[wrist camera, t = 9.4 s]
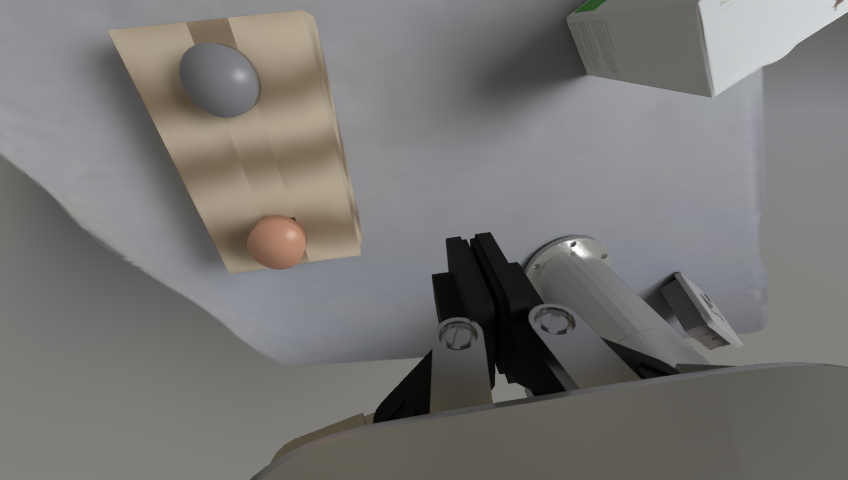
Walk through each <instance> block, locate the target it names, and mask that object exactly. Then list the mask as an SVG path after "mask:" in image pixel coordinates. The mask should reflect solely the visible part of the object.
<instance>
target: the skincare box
mask: <svg viewBox="0 0 848 480" xmlns="http://www.w3.org/2000/svg"><path fill="white" fill-rule="evenodd" d="M847 12H848V0H587V1H586V2H585V3H584V4H582V5H581V6H580V7H578V8H577V9H576V10H575V11H573V12H572V13H571V14H569V15H568V16H567V17H566V21H567V24H568V26H569V29H570V31H571V34H572V37H573V39H574V42H575V44H576V47H577V49H578V52H579V54H580V57H581V59H582V62H583V65H584V67H585V70H586V73H587V75H591V76H597V77H602V78H607V79H613V80H619V81H624V82H630V83H635V84H641V85H646V86H651V87H657V88H662V89H668V90H673V91H679V92H684V93H689V94H695V95H700V96H705V97H711V98H713V97H715V96H716V95H718V94H719V93H721V92H722V91H724V90H726V89H727V88H729V87H730V86H732V85H734V84H735V83H737V82H738V81H740V80H742V79H743V78H745V77H746V76H748V75H750V74H751V73H753V72H754V71H756V70H758V69H759V68H761V67H762V66H764V65H768V64H771V63H773V62H776V61H777V60H779V59H781V58H782V57H783V56H785V55H786V54H787V53H789V52H790V50H791V49H793V48H794V46H795V45H796V44H798V43H799V42H801V41H802V40H804V39H806V38H807V37H809V36H810V35H812V34H813V33H815V32H816V31H818V30H819V29H821V28H822V27H824V26H826V25H827V24H829V23H830V22H832V21H834V20H835V19H837V18H839V17H840V16H842V15H843V14H845V13H847Z"/></svg>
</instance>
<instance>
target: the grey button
mask: <svg viewBox="0 0 848 480" xmlns="http://www.w3.org/2000/svg"><path fill="white" fill-rule="evenodd" d="M179 73H180V79H181V82H182V85H183V87H184V89H185V91H186V93H187V95H188V96H189V97H190V99H191V100H192V101H193V102H194V103H195V104H196V105H197V106H198V107H200V108H201V109H202V110H204V111H206V112H207V113H209V114H212V115H214V116H217V117H222V118H231V117H236V116H239V115H241V114H243V113H245V112H247V111H249V110H251V109H252V108H253V107H254V106H255V105H256V104H257V102H258V101H259V98H260V95H261V81H260V77H259V75H258V72H257V70H256V68H255V67H254V65H253V63H252V62H251V61H250V60H249V59H248V58H247V57H246V56H245V55H244V54H243V53H242V52H240V51H239V50H237V49H235V48H233V47H231V46H228V45H225V44H216V43H201V44H197V45H194V46H192V47H191V48H189V49H188V50H187V51H186V52H185V53H184V55H183V57H182V59H181V62H180V67H179Z"/></svg>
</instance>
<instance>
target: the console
mask: <svg viewBox="0 0 848 480" xmlns="http://www.w3.org/2000/svg"><path fill="white" fill-rule="evenodd" d="M108 32H109V34H110V36H111V38H112V40H113V42H114V44H115V46H116V48H117V50H118V52H119V54H120V56H121V58H122V60H123V62H124V64H125V66H126V68H127V70H128V72H129V74H130V76H131V78H132V80H133V82H134V84H135V86H136V88H137V90H138V92H139V94H140V96H141V98H142V100H143V102H144V104H145V106H146V108H147V110H148V112H149V114H150V116H151V118H152V120H153V122H154V124H155V126H156V128H157V130H158V132H159V134H160V136H161V138H162V140H163V142H164V144H165V146H166V148H167V150H168V152H169V154H170V156H171V158H172V160H173V162H174V164H175V166H176V168H177V170H178V172H179V174H180V176H181V178H182V180H183V182H184V184H185V186H186V188H187V190H188V192H189V194H190V196H191V198H192V200H193V202H194V204H195V206H196V208H197V210H198V212H199V214H200V216H201V218H202V220H203V222H204V224H205V226H206V228H207V230H208V232H209V234H210V236H211V238H212V240H213V242H214V244H215V246H216V248H217V250H218V252H219V254H220V256H221V258H222V260H223V262H224V264H225V266H226V268H227V270H228V272H229V274H232V273H239V272H246V271H253V270H260V269H267V268H268V267H265V266H263V265H261V264H260V263H258V262H257V261H256V260H255V259H254V258H253V257H252V256H251V254H250V253H249V250H248V247H247V239H248V236H249V235H250V233H251V232H252V230H253V229H254V227H255V226H256V225H257V223H258V222H259V221H260V220H262V219H263V218H265V217H268V216H272V215H281V216H286V217H289V218H291V217H295V220H296V222H298V223H299V224H300V225H301V226H302V227H303V229H304V230H305V232H306V235H307V246H306V248H305V251H304V254H303V256H302V258H301V260H300V261H299V262H298V263H297V264H301V263H308V262H315V261H322V260H329V259H336V258H343V257H350V256H356V255H360V253H361V242H362V229H361V225H360V220H359V216H358V211H357V207H356V202H355V198H354V193H353V189H352V184H351V180H350V175H349V171H348V166H347V162H346V157H345V153H344V148H343V144H342V139H341V135H340V130H339V126H338V121H337V117H336V112H335V108H334V103H333V99H332V94H331V90H330V85H329V81H328V76H327V72H326V67H325V63H324V58H323V53H322V49H321V44H320V40H319V35H318V31H317V26H316V22H315V17H314V16H313V15H311V14H309V13H307V12H305V11H303V10H300V11H290V12H280V13H271V14H261V15H251V16H242V17H232V18H222V19H213V20H203V21H193V22H183V23H174V24H164V25H154V26H145V27H135V28H125V29H116V30H108ZM201 43H216V44H225V45H228V46H231V47H233V48H235V49H237V50H239V51H240V52H242V53H243V54H244V55H245V56H246V57H247V58H248V59H249V60H250V61H251V62H252V63H253V65H254V67H255V68H256V70H257V72H258V75H259V77H260V81H261V95H260V98H259V101H258V102H257V104H256V105H255V106H254V107H253V108H252V109H251V110H249V111H247V112H245V113H243V114H241V115H239V116H236V117H231V118H222V117H217V116H214V115H212V114H209V113H207V112H206V111H204V110H202V109H201V108H200V107H198V106H197V105H196V104H195V103H194V102H193V101H192V100H191V99H190V97H189V96H188V95H187V93H186V91H185V89H184V87H183V85H182V82H181V79H180V73H179V67H180V62H181V59H182V57H183V55H184V53H185V52H186V51H187V50H188V49H189V48H191V47H192V46H194V45H197V44H201Z"/></svg>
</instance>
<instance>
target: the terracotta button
mask: <svg viewBox="0 0 848 480" xmlns="http://www.w3.org/2000/svg"><path fill="white" fill-rule="evenodd" d="M306 246H307V235H306V232H305V230H304V229H303V227H302V226H301V225H300V224H299V223H298V222H296V220H295V217H291V218H289V217H286V216H281V215H272V216H268V217H265V218H263V219H262V220H260V221H259V222H258V223H257V225H256V226H255V227H254V229H253V230H252V232H251V233H250V235H249V236H248V239H247V247H248V250H249V253H250V254H251V256H252V257H253V258H254V259H255V260H256V261H257V262H258V263H260V264H261V265H263V266H265V267H268V268H272V269H287V268H290V267H293V266H294V265H296V264H297V263H298V262H299V261H300V260H301V258H302V256H303V254H304V251H305V248H306Z"/></svg>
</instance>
